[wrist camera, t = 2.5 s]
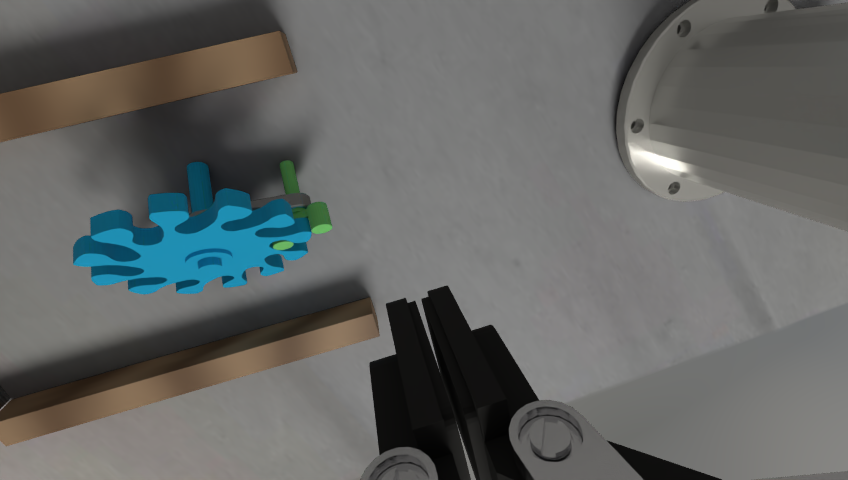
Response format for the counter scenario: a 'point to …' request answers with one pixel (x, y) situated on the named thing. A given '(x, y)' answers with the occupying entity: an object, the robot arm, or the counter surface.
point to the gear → (202, 236)
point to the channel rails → (202, 363)
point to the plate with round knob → (3, 398)
